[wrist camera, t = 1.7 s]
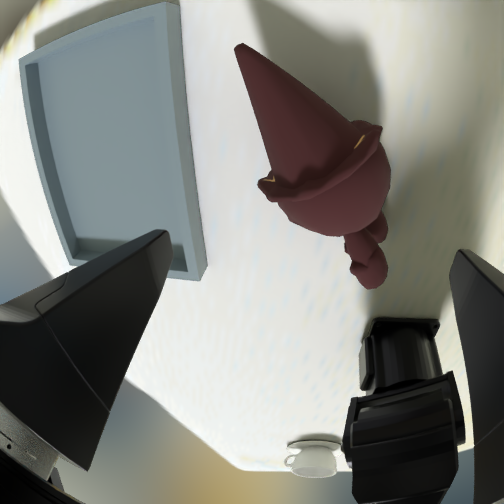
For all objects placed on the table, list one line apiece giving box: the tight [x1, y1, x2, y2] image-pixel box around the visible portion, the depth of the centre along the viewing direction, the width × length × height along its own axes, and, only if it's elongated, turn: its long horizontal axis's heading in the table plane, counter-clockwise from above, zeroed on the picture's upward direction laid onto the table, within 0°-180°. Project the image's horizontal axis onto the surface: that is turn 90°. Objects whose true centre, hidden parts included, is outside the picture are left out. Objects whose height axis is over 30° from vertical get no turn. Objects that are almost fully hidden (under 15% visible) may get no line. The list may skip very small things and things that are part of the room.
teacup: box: [284, 441, 344, 478], centre depth 42 cm, size 10×10×5 cm
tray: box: [19, 1, 208, 281], centre depth 20 cm, size 14×20×2 cm
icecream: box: [234, 43, 391, 289], centre depth 15 cm, size 7×7×15 cm
